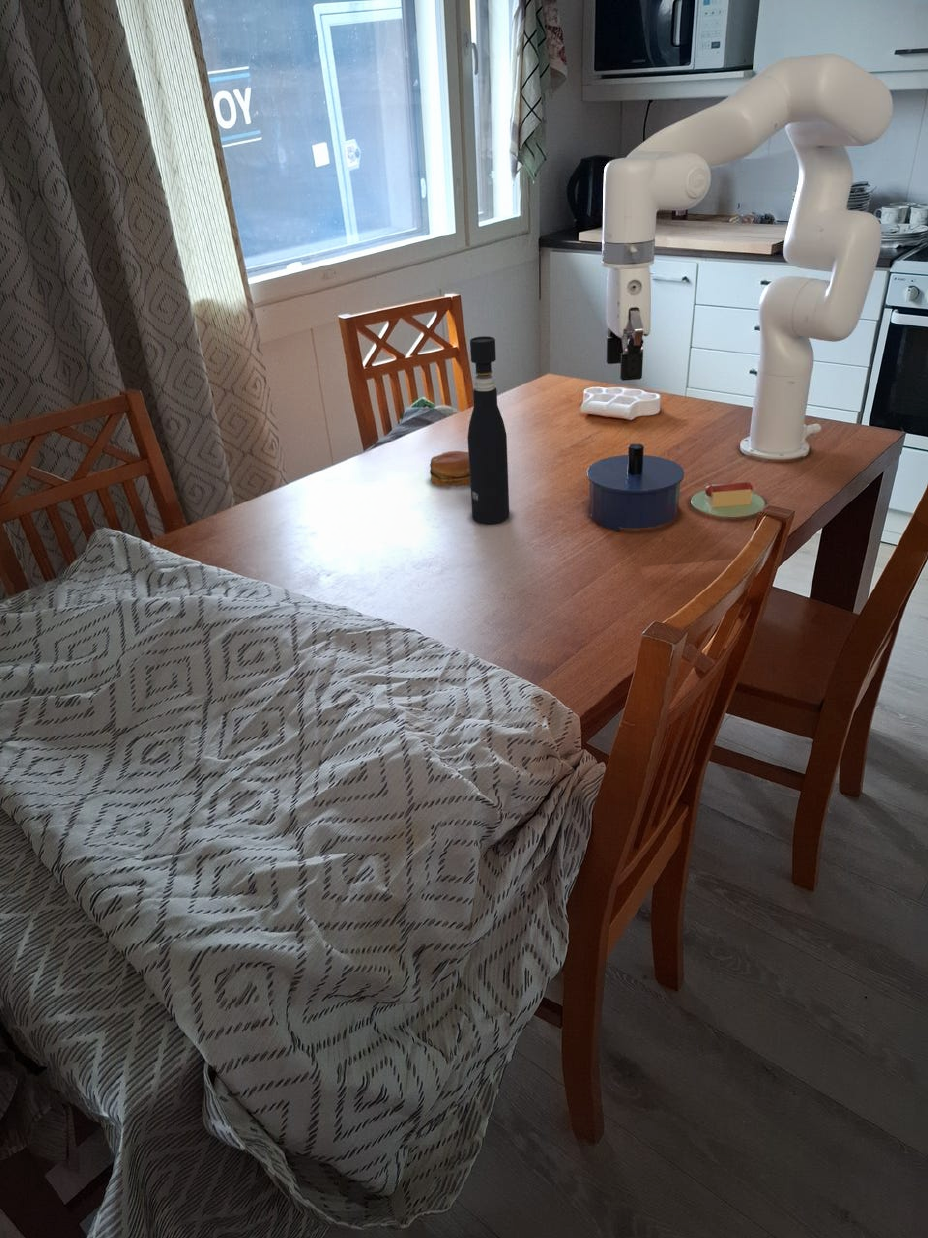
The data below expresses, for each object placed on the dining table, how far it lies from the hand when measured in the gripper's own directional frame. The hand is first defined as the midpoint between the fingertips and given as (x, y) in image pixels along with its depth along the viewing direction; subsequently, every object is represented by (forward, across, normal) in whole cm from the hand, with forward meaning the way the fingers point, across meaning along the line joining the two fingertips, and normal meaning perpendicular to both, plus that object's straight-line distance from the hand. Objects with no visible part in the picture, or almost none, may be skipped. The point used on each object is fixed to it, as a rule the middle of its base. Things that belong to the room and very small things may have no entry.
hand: (623, 370), depth 134 cm
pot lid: (+17, -1, -2) cm, 17 cm away
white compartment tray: (+24, +53, -12) cm, 59 cm away
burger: (+24, +20, +27) cm, 42 cm away
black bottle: (+24, +2, +22) cm, 33 cm away
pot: (+24, -1, -2) cm, 24 cm away
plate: (+24, -1, -18) cm, 30 cm away
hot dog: (+23, -1, -18) cm, 30 cm away
